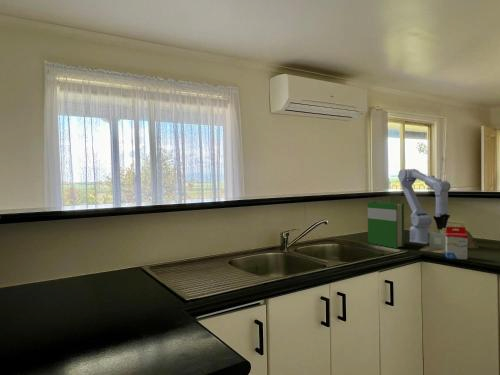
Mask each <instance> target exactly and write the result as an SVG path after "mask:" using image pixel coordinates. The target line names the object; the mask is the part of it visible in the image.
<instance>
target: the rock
mask: <svg viewBox="0 0 500 375" xmlns="http://www.w3.org/2000/svg"><path fill="white" fill-rule="evenodd" d="M465 234H467V235H468V243H467V249H468V248H470V249H479V245H478V242H477V240H476V238H474V236H473V235H472V234H471V233H470V232H469V231H468V230H467V229H465Z"/></svg>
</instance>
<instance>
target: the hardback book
mask: <svg viewBox="0 0 500 375" xmlns="http://www.w3.org/2000/svg"><path fill="white" fill-rule="evenodd" d="M368 242H369V243H373V244H378V245H383V246H388V247H393V248H392V249H396V248H397V249H398V248H399V247H402V248H403V247H405V203H403V202H390V201H389V202H387V201H369V202H368V201H367V243H368Z"/></svg>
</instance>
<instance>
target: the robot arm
mask: <svg viewBox="0 0 500 375" xmlns="http://www.w3.org/2000/svg"><path fill="white" fill-rule="evenodd" d="M397 178H398V180H399V183H400V186H401V189H402V191H403V193H404V196H405V198H406V201H407V203H408V205H409V207H410V211H412V213H411V214H410V221H411V226H410V227H409V242H410V243H418V244H429V227H430V225H432V222H433V219H434V221H435V225H436V228H437V230H439V231H442V230H443V229H446V227H447V224H448V221H449V219H450V216H451V215H450V214H451V211H449V201H448V200H449V194H448V193H449V191H450V190H451V184H450V182H449V181H448V180H444V181H443V180H442V179H441V178H437V177H436V176H435V175H426V174H424V173H423V172H421V171H419V170H418V169H415V168H410V169H409V168H408V169H404V168H401V169H400V170H399V171H398V175H397ZM416 180H420V181H421V182H424V184H425V185H426V186H427V187H429V188H431V189H433V191H434V195H435V211H434V212H435V214H434V215H433V219H432V217H431V216H430V215H429V214H428V212H427V211H426V210H424V209H423V206H422V205H421V203H420V201H419V199H418V197H417V194H416V193H415V190H414V188H413V185H414V183H415V182H416Z"/></svg>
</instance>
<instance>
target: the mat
mask: <svg viewBox="0 0 500 375" xmlns="http://www.w3.org/2000/svg"><path fill="white" fill-rule="evenodd" d="M418 251H422V252H430V253H439V254H445V253H446V250H445V249H437V248H429V245H428V246H427V245H425V246H423V247H422V248H420V249H419V250H418Z"/></svg>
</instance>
